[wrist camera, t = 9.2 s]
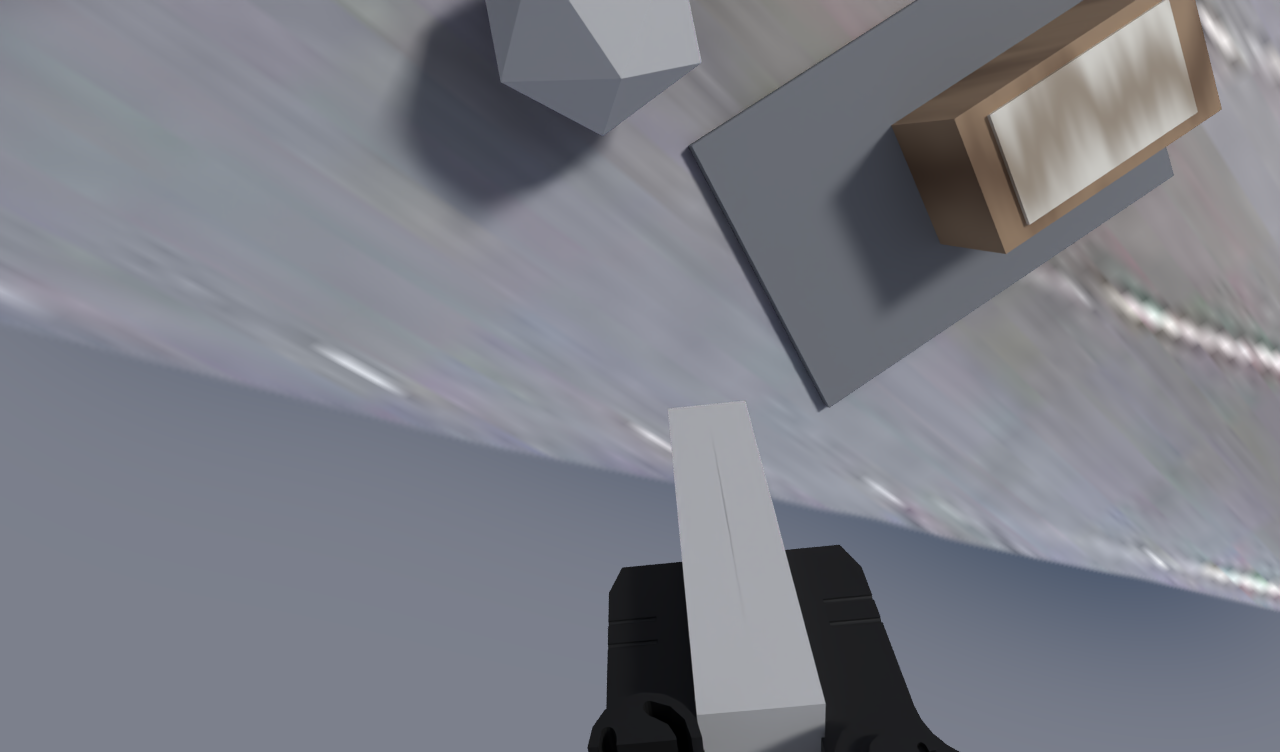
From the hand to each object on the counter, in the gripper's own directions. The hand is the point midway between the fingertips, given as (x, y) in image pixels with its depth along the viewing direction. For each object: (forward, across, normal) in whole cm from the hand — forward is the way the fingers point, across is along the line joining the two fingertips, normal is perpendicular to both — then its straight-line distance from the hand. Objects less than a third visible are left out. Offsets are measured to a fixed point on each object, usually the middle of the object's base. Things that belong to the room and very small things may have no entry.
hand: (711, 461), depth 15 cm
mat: (+27, +15, -3) cm, 31 cm away
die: (+25, -3, +6) cm, 26 cm away
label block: (+24, +14, -3) cm, 28 cm away
